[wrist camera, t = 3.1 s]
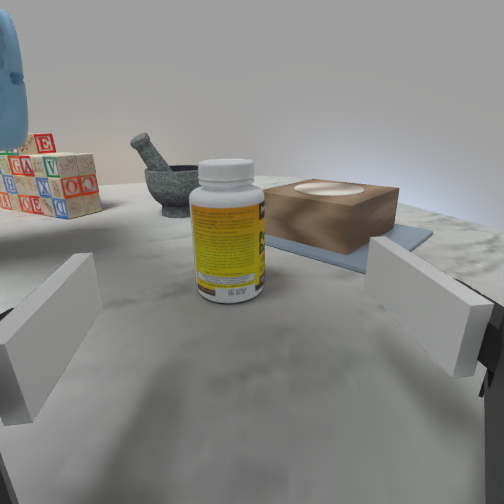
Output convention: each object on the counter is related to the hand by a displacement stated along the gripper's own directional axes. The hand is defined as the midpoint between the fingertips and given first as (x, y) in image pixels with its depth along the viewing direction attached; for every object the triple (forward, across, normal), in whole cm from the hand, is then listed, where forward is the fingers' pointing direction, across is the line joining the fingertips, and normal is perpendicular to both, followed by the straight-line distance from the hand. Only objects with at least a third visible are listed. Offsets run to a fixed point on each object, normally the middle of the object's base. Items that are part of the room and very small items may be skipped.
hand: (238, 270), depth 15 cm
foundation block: (+23, +12, -6) cm, 27 cm away
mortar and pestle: (+36, -7, -6) cm, 38 cm away
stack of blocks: (+44, -30, -6) cm, 54 cm away
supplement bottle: (+10, 0, -6) cm, 12 cm away
